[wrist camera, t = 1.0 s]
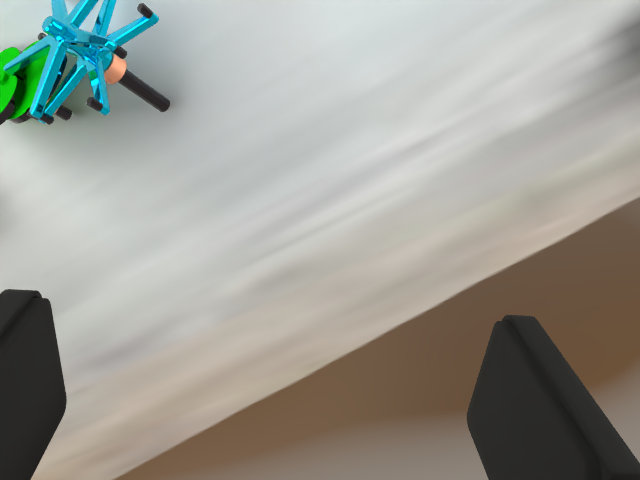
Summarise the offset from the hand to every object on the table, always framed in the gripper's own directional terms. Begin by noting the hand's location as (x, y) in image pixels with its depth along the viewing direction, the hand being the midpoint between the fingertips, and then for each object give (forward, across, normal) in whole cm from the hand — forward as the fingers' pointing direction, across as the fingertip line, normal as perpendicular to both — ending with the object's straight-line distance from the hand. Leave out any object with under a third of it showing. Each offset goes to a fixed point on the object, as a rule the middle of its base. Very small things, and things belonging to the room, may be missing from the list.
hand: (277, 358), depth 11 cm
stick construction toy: (+20, +10, -2) cm, 23 cm away
